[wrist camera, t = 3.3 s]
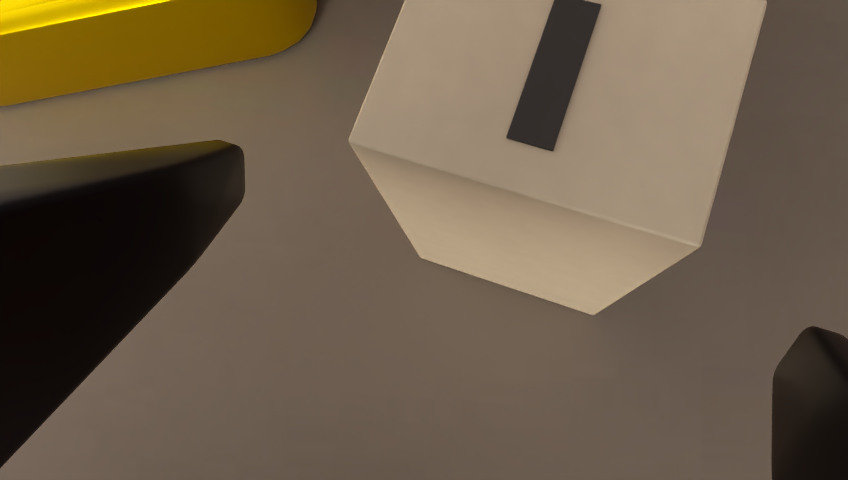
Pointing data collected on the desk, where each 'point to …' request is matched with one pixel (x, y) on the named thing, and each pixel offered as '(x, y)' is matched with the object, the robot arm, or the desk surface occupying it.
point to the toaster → (557, 135)
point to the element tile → (134, 40)
